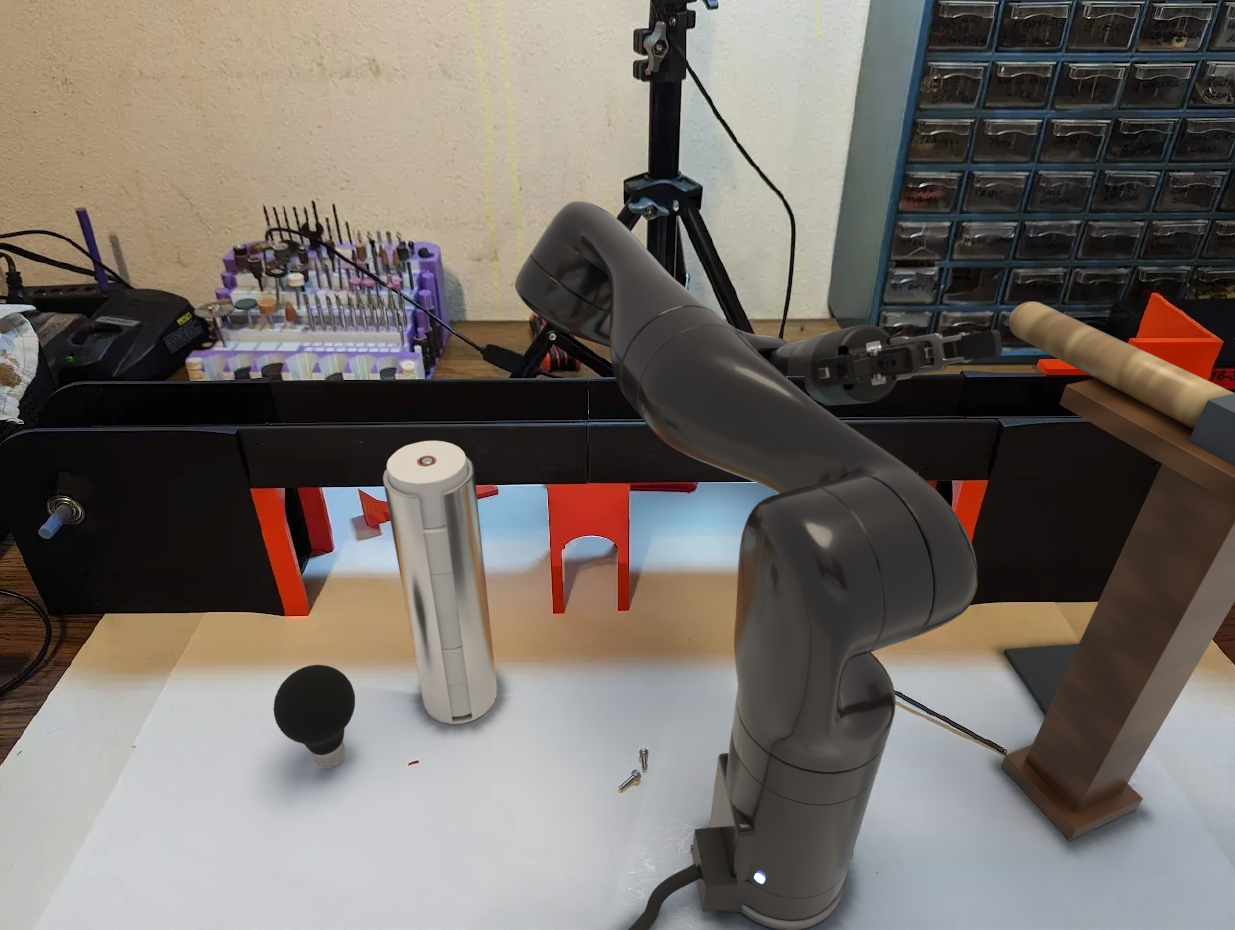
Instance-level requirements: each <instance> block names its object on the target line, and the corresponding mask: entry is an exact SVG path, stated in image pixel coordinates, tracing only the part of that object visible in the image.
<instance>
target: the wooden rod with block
mask: <svg viewBox="0 0 1235 930" xmlns="http://www.w3.org/2000/svg"><path fill="white" fill-rule="evenodd" d="M1008 325H1009V330H1010V331H1011V333H1012V334H1013V335H1014V336H1015V337H1017V338H1018V339H1020V340H1022V341H1024V342H1026V343H1027V344H1029V345H1031V346H1032V347H1035V348H1037V349H1039V350H1041V351H1043V352H1045V353H1046V354H1048V355H1050V356H1052V357H1054V358H1056V359H1058V360H1060V361H1062V362H1064V363H1065V364H1067V365H1070V366H1072V367H1073V368H1075V369H1077V370H1079V371H1081V372H1083V373H1085V374H1087V375H1089V376H1091V377H1092V378H1093V379H1095V378H1096V379H1098V380H1100V381H1102V382H1104V383H1106V384H1108V385H1110V386H1112V387H1114V388H1115V389H1117V390H1119V391H1121V392H1123V393H1125V394H1127V395H1129V396H1131V397H1133V398H1135V399H1137V400H1138V401H1140V402H1142V403H1144V404H1146V405H1148V406H1150V407H1152V408H1154V409H1156V410H1158V411H1160V412H1161V413H1163V414H1165V415H1167V416H1169V417H1171V418H1173V419H1175V420H1177V421H1179V422H1181V423H1183V424H1184V425H1186V426H1188V427H1190V428H1192V429H1194V431H1193V433H1192V435H1191V437H1190V439H1189V441H1190V442H1192V443H1194V444H1196V445H1197V446H1199V447H1201V448H1203V449H1205V450H1207V451H1209V452H1211V453H1212V454H1214V455H1216V456H1218V457H1220V458H1222V459H1224V460H1225V461H1227V462H1229V463H1231V464H1233V465H1235V392H1234V391H1230V390H1228V389H1226V388H1225V387H1222V386H1220V385H1218V384H1215V383H1213V382H1211V381H1209V380H1207V379H1205V378H1203V377H1200V376H1199V375H1197V374H1194V373H1192V372H1190V371H1187V370H1185V369H1184V368H1181V367H1179V366H1177V365H1175V364H1172V363H1171V362H1168V361H1166V360H1165V359H1162V358H1160V357H1158V356H1155V355H1153V354H1151V353H1150V352H1146V351H1145V350H1143V349H1141V348H1138V347H1136V346H1134V345H1132V344H1130V343H1128V342H1125V341H1123V340H1121V339H1119V338H1117V337H1115V336H1112V335H1110V334H1108V333H1106V332H1104V331H1102V330H1099V329H1098V328H1095V327H1093V326H1091V325H1089V324H1087V323H1085V322H1082V321H1080V320H1078V319H1076V318H1074V317H1072V316H1069V315H1067V314H1066V313H1063V312H1061V311H1059V310H1056V309H1054V308H1052V307H1050V306H1048V305H1046V304H1044V303H1042V302H1038V301H1026V302H1022V303H1021V304H1019V305H1017V306H1016V307H1015V308H1014V309H1013V310H1012V311H1011V313H1010V316H1009V319H1008Z"/></svg>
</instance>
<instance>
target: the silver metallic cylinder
mask: <svg viewBox="0 0 1235 930" xmlns="http://www.w3.org/2000/svg"><path fill="white" fill-rule="evenodd" d="M382 482H383V487H384V494H385V499H386V504H387V510H388V515H389V521H390V527H391V532H392V537H393V543H394V549H395V553H396V554H395V555H396V560H397V566H398V571H399V577H400V582H401V587H402V594H403V598H404V605H405V609H406V613H407V620H408V626H409V631H410V637H411V642H412V648H413V653H414V658H415V659H414V660H415V664H416V669H417V675H418V682H419V686H420V692H421V697H422V702H423V707H424V709H425V711H426V712H427V714H428V715H429V716H430V717H431V718H433V719H434V720H436V721H438V722H440V723H442V724H447V725H448V724H449V725H461V724H462V725H463V724H466V723H471V722H473V721H475V720H478V719H479V718H481V717H482V716H483V715H485V714H486V713H487V712H488V711H490V709H491V708H492V706H493V705H494V703H495V701H496V698H497V696H498V693H497V692H498V687H497V676H496V666H495V656H494V646H493V637H492V636H493V635H492V626H491V618H490V610H489V609H490V607H489V598H488V589H487V580H486V570H485V559H484V550H483V540H482V532H481V531H482V530H481V523H480V521H481V520H480V512H479V503H478V493H477V492H478V491H477V485H476V483H477V482H476V474H475V467H474V465H473V461H471V459H469V458H468V457H467V456H466V454H465V451H463V449H461V447H460V446H458V445H455V444H454V443H451V442H447V441H444V440H443V441H442V440H424V441H423V440H422V441H419V442H414V443H410V444H406V445H404V446H402V447H401V448H399V449H397V450H396V451H395V452H394V453H393V454H391V456H390V457H389V458H388V460H387V463H386V469H385V470H384V472H383V475H382Z"/></svg>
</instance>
